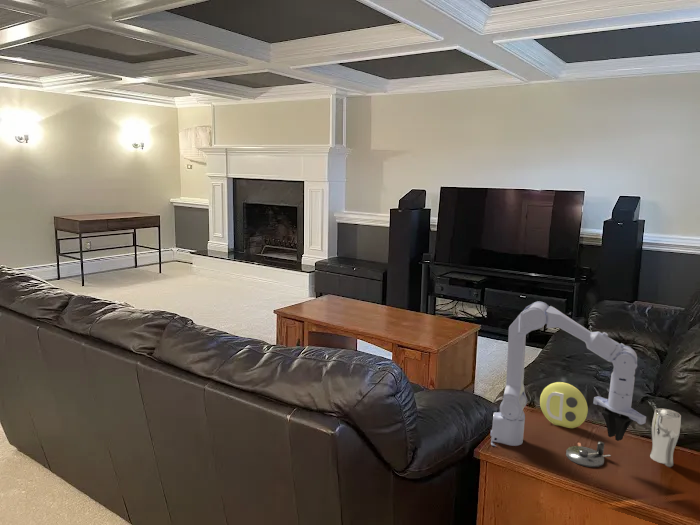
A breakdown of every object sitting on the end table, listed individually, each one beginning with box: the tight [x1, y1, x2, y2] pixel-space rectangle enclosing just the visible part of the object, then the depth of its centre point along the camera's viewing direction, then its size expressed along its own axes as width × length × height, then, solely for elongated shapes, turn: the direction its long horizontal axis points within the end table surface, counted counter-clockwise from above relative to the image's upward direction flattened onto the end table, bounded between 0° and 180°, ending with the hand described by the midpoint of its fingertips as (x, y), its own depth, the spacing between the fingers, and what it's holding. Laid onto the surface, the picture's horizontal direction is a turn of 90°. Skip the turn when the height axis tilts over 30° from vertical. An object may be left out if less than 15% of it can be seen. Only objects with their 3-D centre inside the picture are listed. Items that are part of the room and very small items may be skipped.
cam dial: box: [565, 440, 605, 468], centre depth 156 cm, size 11×10×4 cm
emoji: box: [539, 381, 589, 429], centre depth 176 cm, size 5×15×15 cm
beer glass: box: [649, 408, 682, 468], centre depth 156 cm, size 7×7×15 cm
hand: (615, 437), depth 151 cm, fingers closed
